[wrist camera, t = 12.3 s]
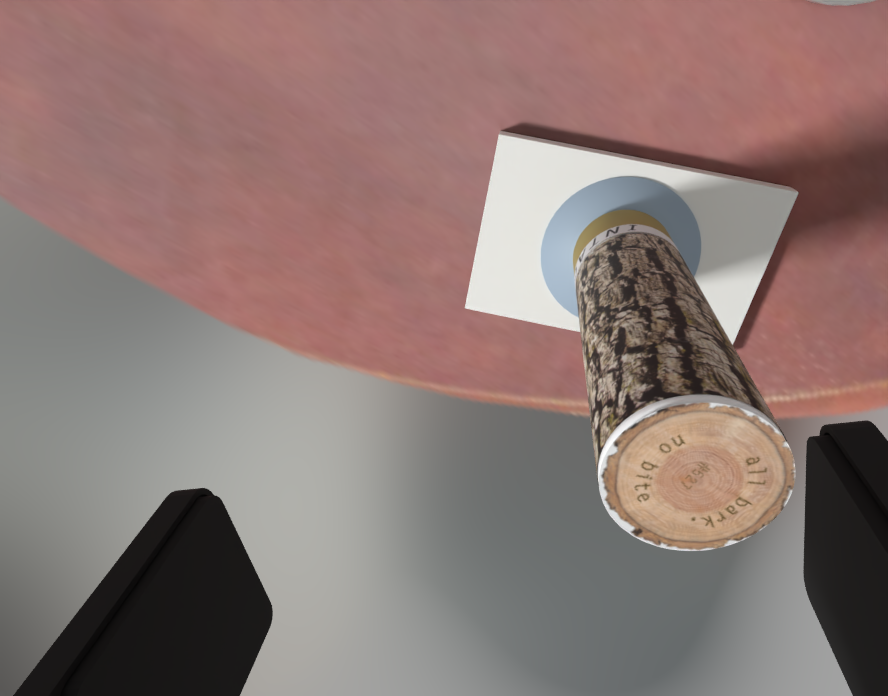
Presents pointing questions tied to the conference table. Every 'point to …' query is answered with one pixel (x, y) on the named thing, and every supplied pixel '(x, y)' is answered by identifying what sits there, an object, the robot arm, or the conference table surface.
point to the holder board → (605, 190)
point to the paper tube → (670, 396)
